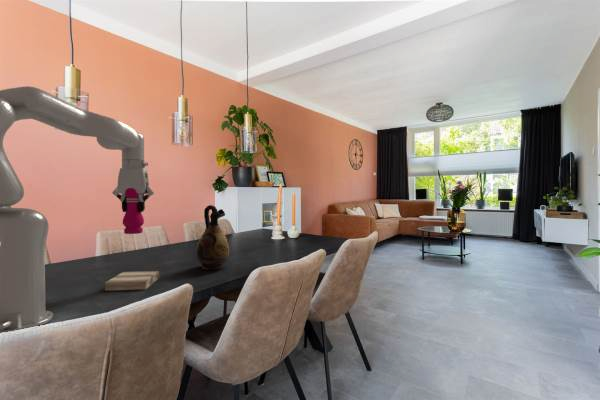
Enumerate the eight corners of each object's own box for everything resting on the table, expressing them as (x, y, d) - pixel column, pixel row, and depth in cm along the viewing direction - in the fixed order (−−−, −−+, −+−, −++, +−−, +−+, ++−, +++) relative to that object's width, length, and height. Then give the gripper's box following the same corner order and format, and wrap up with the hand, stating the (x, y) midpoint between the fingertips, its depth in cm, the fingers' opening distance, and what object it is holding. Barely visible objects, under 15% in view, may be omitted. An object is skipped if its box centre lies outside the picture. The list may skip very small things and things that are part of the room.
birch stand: (145, 289, 108) (145, 281, 107) (105, 290, 106) (105, 282, 106) (158, 278, 121) (158, 271, 121) (123, 279, 120) (123, 271, 119)
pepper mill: (148, 232, 116) (148, 182, 115) (134, 234, 109) (134, 181, 108) (132, 231, 117) (132, 182, 117) (118, 233, 110) (117, 181, 110)
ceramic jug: (236, 266, 142) (236, 205, 141) (211, 273, 129) (211, 206, 128) (212, 261, 151) (212, 204, 150) (186, 268, 138) (186, 205, 137)
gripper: (159, 166, 117) (159, 211, 118) (114, 165, 115) (114, 211, 115) (152, 164, 110) (152, 212, 110) (104, 163, 107) (104, 212, 108)
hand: (133, 211), depth 113 cm, fingers closed on pepper mill, 5 cm apart
